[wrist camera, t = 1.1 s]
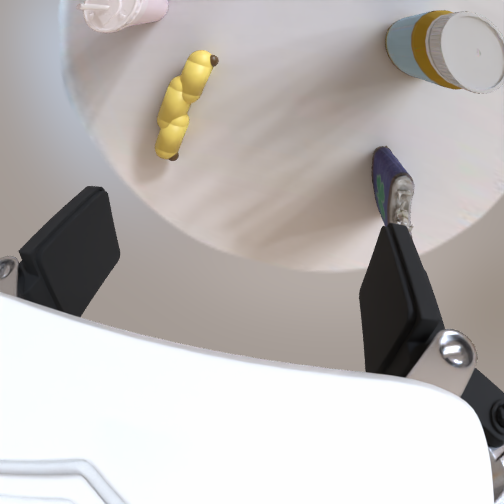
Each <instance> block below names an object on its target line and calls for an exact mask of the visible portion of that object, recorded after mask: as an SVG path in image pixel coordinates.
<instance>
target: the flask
mask: <svg viewBox="0 0 504 504" xmlns="http://www.w3.org/2000/svg"><path fill="white" fill-rule="evenodd" d="M372 160H373V161H372V182H373V185H374V192H375V198H376V203H377V207H378V210H379V212H380V214H381V217H382V220H383V222H384V224H385V226H386V227H387V225H388V224H389V223H395V224H400V225H405V226H407V228H408V231H409V233H410V235H411V230H412V228H413V227H414V225H413V224H412V225H411V226H410V223H411V222H410V213H411V201H412V196H413V193H414V183H413V180H412V178H411V176H410V175H409V174H408V173H407V171H406V170H405V169H404V168H403V166H402V165H401V164H400V162H399V161H398V159H397V158H396V157H395V156H394V155H393V154H392V152H391V150H390V149H389V148H387V146H386V147H383V146H382V147H378V148H376V150H375V151H374V155H373V159H372ZM411 238H412V235H411Z"/></svg>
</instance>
